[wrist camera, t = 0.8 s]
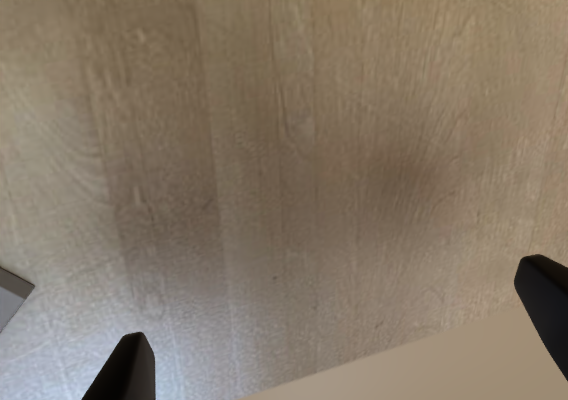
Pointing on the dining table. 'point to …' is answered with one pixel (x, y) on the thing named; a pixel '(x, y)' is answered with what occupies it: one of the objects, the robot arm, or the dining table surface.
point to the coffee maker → (11, 295)
